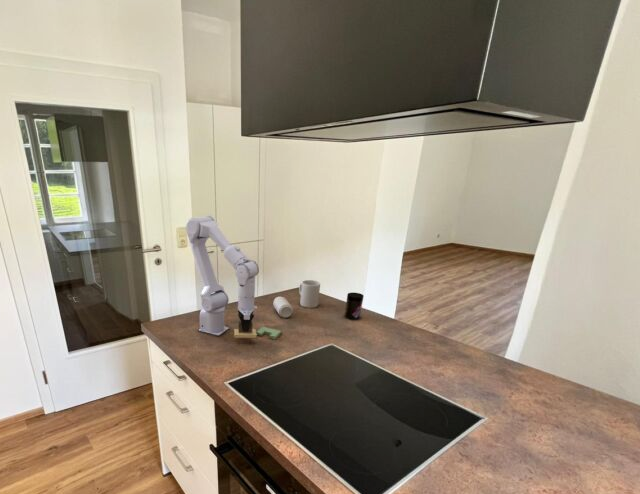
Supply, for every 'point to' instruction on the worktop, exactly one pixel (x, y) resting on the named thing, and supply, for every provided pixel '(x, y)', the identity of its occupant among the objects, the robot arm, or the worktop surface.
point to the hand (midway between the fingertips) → (245, 329)
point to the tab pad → (241, 334)
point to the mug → (309, 293)
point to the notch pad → (269, 332)
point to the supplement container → (353, 306)
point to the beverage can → (283, 307)
